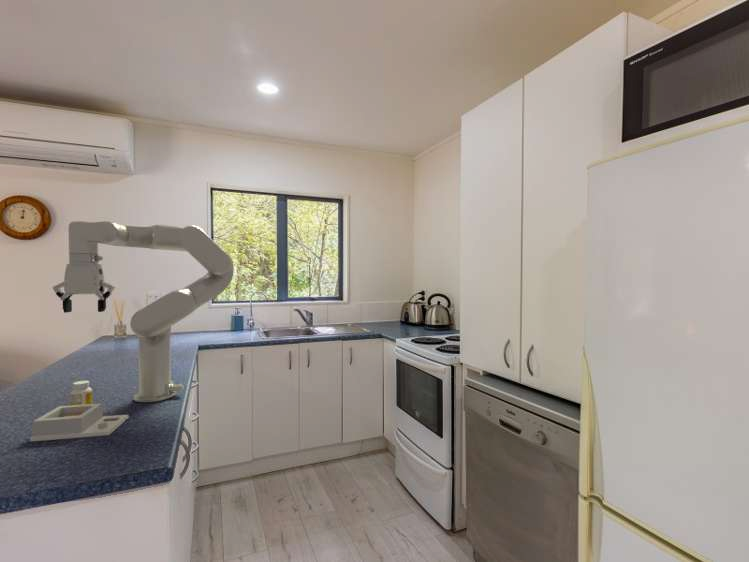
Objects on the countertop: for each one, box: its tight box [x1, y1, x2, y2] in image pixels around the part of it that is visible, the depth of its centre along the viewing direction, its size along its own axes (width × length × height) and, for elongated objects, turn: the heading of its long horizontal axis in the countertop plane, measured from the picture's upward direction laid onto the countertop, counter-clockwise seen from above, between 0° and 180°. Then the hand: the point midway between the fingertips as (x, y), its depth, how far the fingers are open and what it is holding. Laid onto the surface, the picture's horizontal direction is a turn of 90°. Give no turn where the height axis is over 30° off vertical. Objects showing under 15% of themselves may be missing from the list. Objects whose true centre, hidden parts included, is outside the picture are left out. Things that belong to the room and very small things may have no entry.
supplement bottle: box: [69, 380, 93, 406], centre depth 115 cm, size 5×5×10 cm
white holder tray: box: [29, 403, 129, 442], centre depth 104 cm, size 18×12×5 cm, turn 102°
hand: (84, 311), depth 123 cm, fingers open, 9 cm apart
